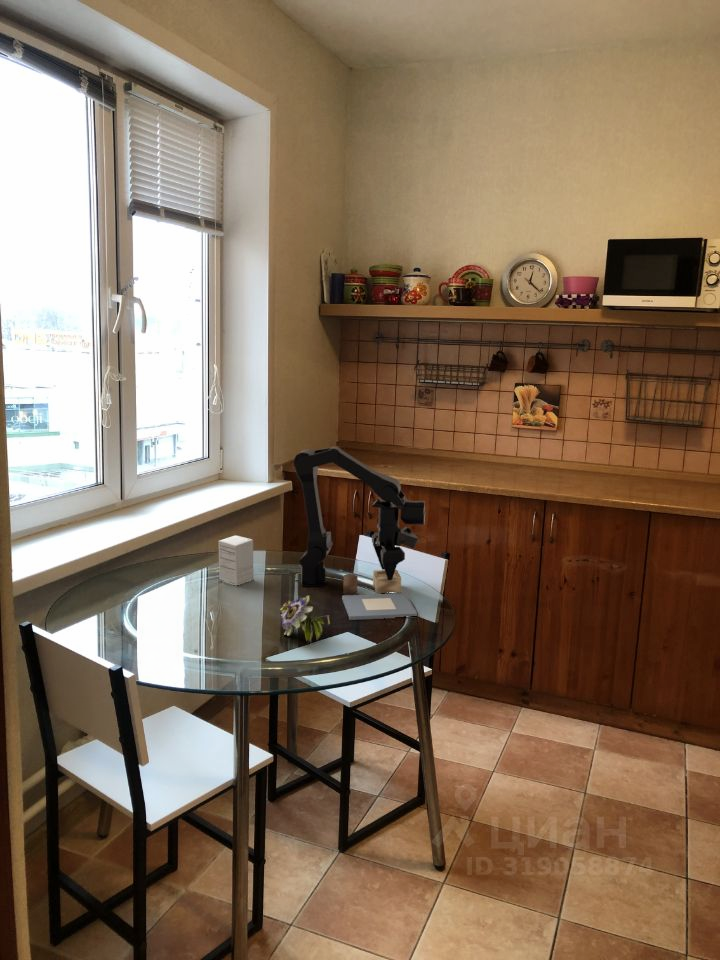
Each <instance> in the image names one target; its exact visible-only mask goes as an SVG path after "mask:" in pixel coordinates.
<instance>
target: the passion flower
mask: <svg viewBox="0 0 720 960" xmlns="http://www.w3.org/2000/svg"><path fill="white" fill-rule="evenodd" d="M310 600H311V596H310V595H306V596H305V597H300V598H298V599H297V598H296V599H293V600H292V601H291V600H287V601H286V602H285V603H284V604H283V605H282V607H281V608H280V616H281V617H280V620H281V623H282V624H281V627H282V628H283V630H285V631H284V633H283V634H284V635H287V637H290V636H292V634H293V633H295V632H294V631H295V629H300V628H301V629H302V630H303V632H304V637H305V641H306V642H307V640H309V641H311V642H312V639H313V635H314V633H315V638H316V641H318V640H319V638H320V637H321V635H322V633H323V626H322V625H325V622H324V620H323V619H322V618H324V617H325V618H326V619H327V620H326V621H327V625H328V626H329V625H330V624H331V622H330V619H331V618H330V614H329V615H322V616H318V617H317V616H314V617H313V616H312V612H313V610H314V606H311V605H309V606H308V603H309V602H310ZM313 629H314V631H313ZM284 635H283V636H284Z"/></svg>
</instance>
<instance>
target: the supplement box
mask: <svg viewBox="0 0 720 960" xmlns="http://www.w3.org/2000/svg"><path fill="white" fill-rule="evenodd" d="M218 575H219V576H218V577H219V579H222V580H224V581H227V582H229V583H232V584H235V585H239V586H241V585H240V584H242V583H244V584H246V583H245V582H247V581H249V582H251V581H250V580H252V581H254V580H253V579H255V578H254V539H251V538H249V537H248V538H247V537H244V536H240V535H232V536H229V537H226V538H224V539H220V540H218ZM219 579H218V580H219ZM247 583H248V582H247ZM242 585H243V584H242Z"/></svg>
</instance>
